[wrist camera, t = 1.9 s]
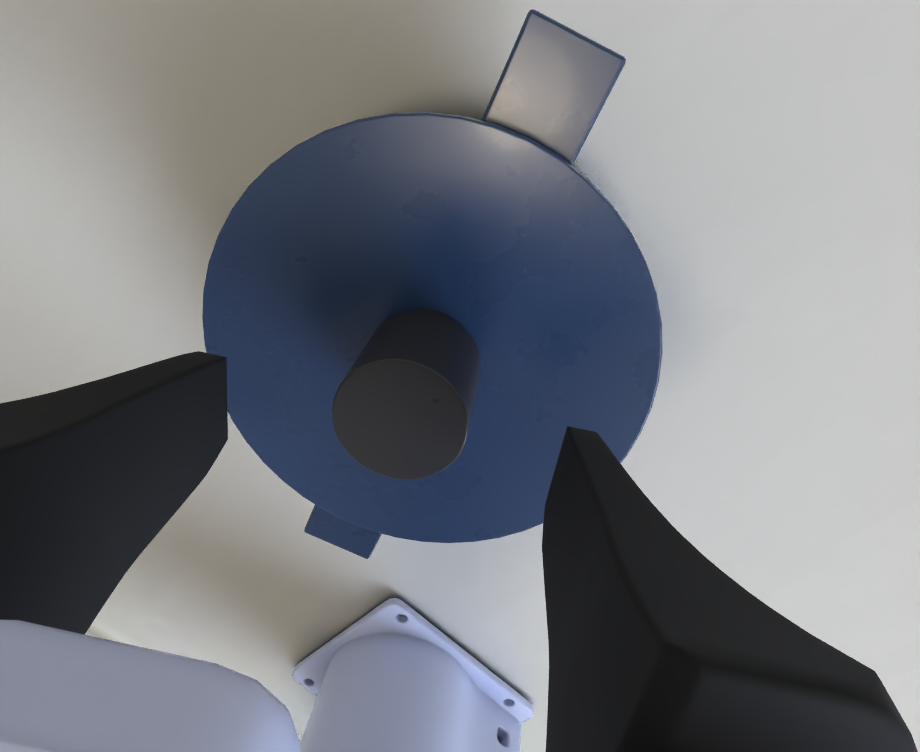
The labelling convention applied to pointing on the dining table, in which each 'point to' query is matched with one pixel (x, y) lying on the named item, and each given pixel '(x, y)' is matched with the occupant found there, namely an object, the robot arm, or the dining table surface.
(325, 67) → the dining table surface
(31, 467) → the robot arm
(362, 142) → the lid
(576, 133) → the pot
